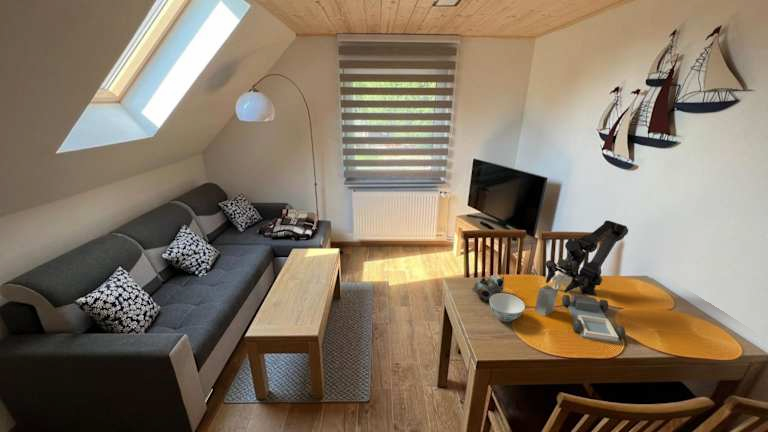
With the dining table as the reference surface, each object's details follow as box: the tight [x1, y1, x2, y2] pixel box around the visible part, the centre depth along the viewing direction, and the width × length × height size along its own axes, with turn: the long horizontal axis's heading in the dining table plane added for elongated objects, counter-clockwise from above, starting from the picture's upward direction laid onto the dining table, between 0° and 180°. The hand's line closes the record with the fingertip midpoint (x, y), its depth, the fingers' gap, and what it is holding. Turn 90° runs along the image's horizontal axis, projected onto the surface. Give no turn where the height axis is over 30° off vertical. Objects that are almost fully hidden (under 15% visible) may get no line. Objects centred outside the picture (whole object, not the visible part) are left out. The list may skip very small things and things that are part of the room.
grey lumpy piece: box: [472, 274, 505, 303], centre depth 164 cm, size 15×12×14 cm
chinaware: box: [489, 292, 526, 323], centre depth 148 cm, size 15×15×8 cm
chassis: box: [561, 294, 626, 344], centre depth 147 cm, size 27×18×5 cm, turn 165°
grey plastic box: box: [534, 284, 558, 317], centre depth 152 cm, size 6×5×12 cm
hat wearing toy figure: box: [549, 271, 569, 291], centre depth 169 cm, size 9×4×12 cm, turn 88°
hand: (555, 287), depth 152 cm, fingers open, 9 cm apart
